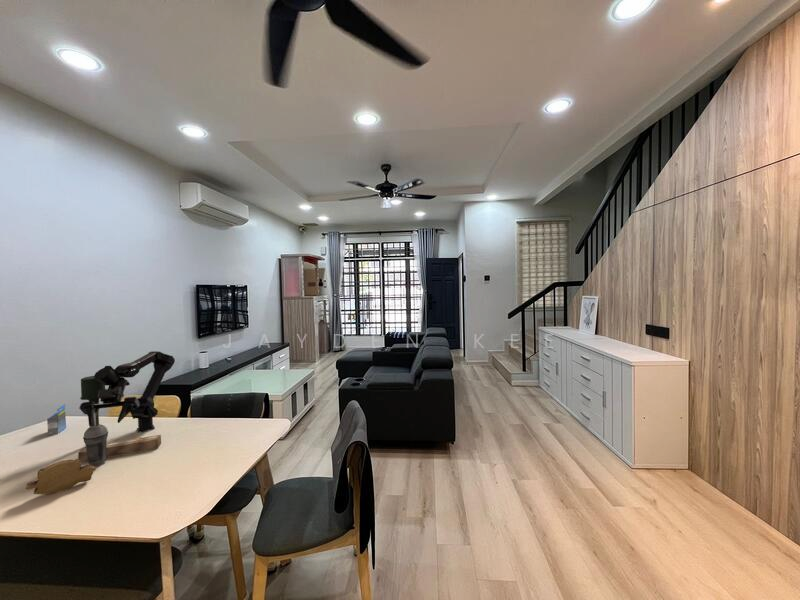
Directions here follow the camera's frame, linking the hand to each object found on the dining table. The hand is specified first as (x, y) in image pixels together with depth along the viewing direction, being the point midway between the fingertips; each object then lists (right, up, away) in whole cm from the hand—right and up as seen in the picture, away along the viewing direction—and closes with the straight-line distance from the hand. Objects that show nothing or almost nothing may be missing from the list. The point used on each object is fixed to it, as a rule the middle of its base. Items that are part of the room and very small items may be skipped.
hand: (104, 424), depth 133 cm
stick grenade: (-16, -14, +13) cm, 25 cm away
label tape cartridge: (-48, -14, +27) cm, 58 cm away
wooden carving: (+7, -14, -22) cm, 27 cm away
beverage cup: (+3, -14, -6) cm, 15 cm away
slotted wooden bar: (+4, -13, +3) cm, 14 cm away
